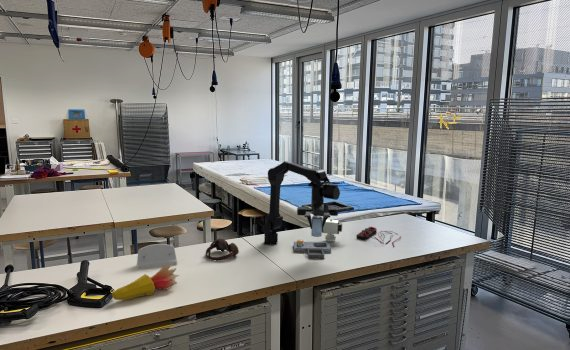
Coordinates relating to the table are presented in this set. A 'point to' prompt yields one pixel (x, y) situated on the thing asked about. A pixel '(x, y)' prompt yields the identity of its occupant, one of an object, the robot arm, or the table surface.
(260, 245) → the table surface
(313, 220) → the cartridge
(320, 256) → the tray
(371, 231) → the multimeter with leads
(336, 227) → the pneumatic valve
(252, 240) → the table surface
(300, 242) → the plunger
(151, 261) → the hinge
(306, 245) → the housing
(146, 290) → the torch
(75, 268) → the table surface
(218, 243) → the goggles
